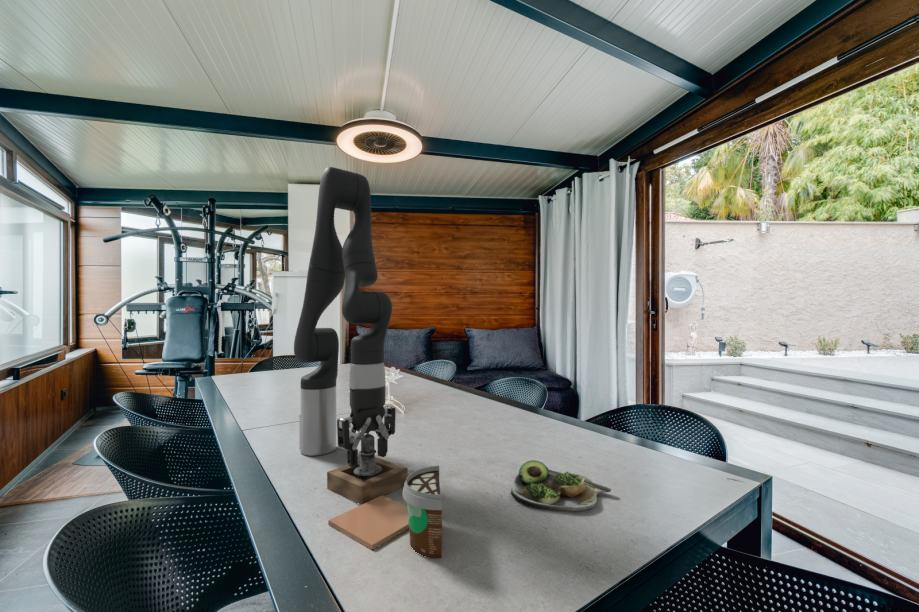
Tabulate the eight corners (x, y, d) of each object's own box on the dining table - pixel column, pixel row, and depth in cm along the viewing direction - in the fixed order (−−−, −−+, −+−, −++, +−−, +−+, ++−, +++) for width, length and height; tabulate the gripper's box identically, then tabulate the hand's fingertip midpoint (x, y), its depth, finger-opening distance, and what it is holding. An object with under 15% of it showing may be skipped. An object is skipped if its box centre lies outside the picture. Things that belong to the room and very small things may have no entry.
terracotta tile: (328, 524, 69) (328, 520, 69) (381, 499, 78) (381, 495, 78) (372, 550, 61) (372, 545, 61) (425, 518, 71) (425, 514, 71)
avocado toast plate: (608, 482, 86) (608, 461, 87) (614, 523, 69) (614, 497, 70) (521, 471, 92) (520, 452, 92) (506, 507, 75) (506, 483, 75)
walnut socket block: (327, 488, 83) (327, 471, 83) (372, 470, 93) (372, 455, 93) (362, 505, 76) (362, 487, 76) (407, 484, 85) (407, 468, 85)
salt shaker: (375, 493, 81) (374, 435, 81) (348, 491, 82) (348, 433, 82) (386, 481, 87) (385, 427, 87) (361, 479, 88) (361, 425, 88)
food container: (404, 522, 70) (404, 465, 70) (439, 520, 70) (439, 464, 70) (400, 567, 57) (399, 498, 57) (442, 564, 58) (441, 496, 58)
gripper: (382, 378, 93) (382, 448, 92) (328, 387, 81) (328, 467, 81) (404, 381, 88) (404, 455, 88) (350, 391, 77) (350, 476, 76)
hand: (368, 461), depth 84 cm, fingers open, 7 cm apart
